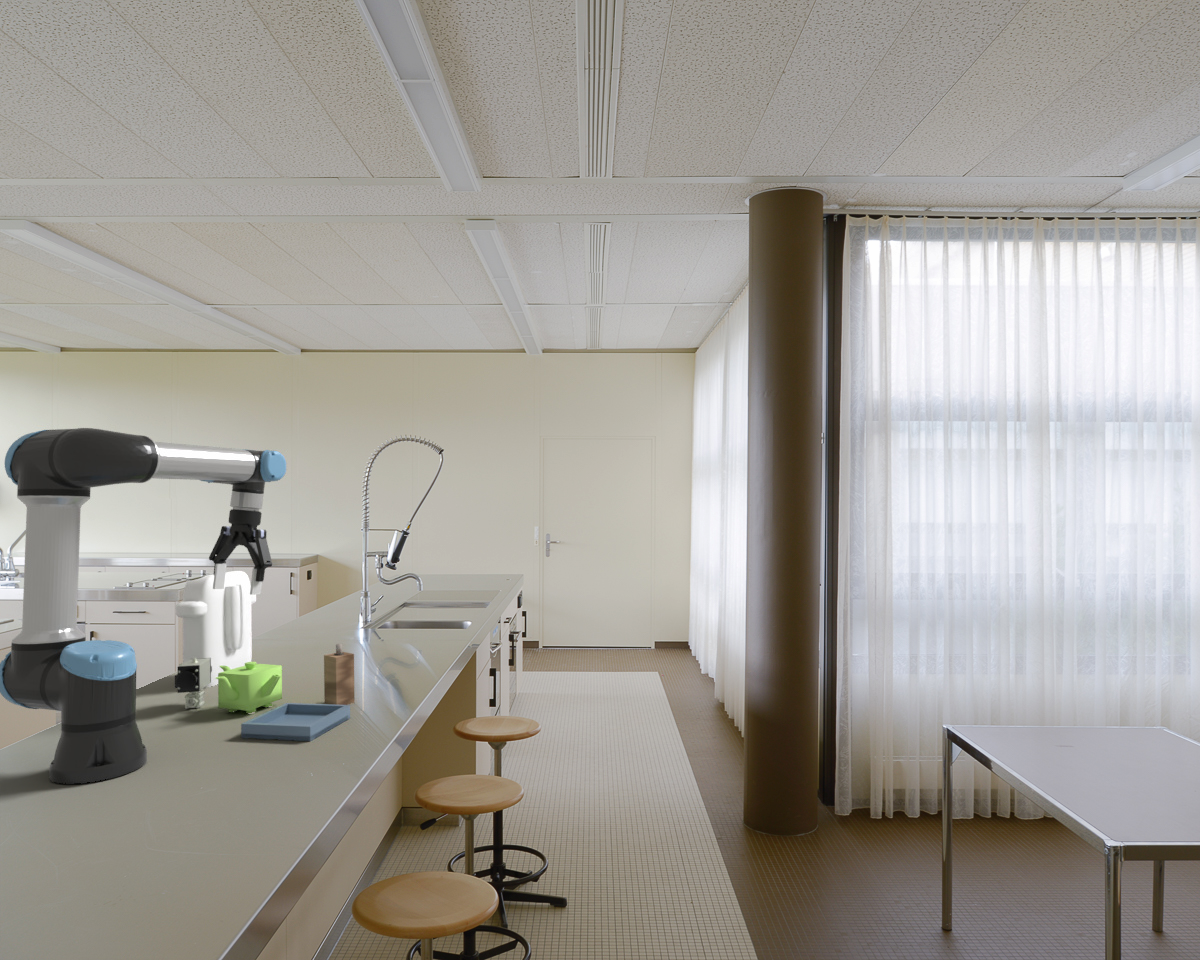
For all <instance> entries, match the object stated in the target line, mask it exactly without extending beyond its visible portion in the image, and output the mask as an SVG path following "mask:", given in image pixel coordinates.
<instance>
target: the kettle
mask: <svg viewBox="0 0 1200 960" xmlns="http://www.w3.org/2000/svg"><path fill="white" fill-rule="evenodd" d="M219 667H221V668H222V669H223V671H224V672H220V673H218V677H216V679H218V685H217V689H218V690H217V696H218V697H217V700H218V701H217V703H218V704H217V706H218V708H219V709H227V710H228V711H229V712H233V711H237V710H238V711H245V714H246V713H252V712H255V711H256V712H257V708H260V707H262V708H263V707H269V706H272V705H273V704H272V703H274V702H276V701H280V700H282V699H283V666H282V665H281V664H280V665H279V664H267V663H257V661H251V662H247V663H245V666H241V667H238V668H234V669H230V668H229V667H228V666H219ZM238 711H237V712H238ZM233 713H234V712H233Z"/></svg>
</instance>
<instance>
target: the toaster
mask: <svg viewBox="0 0 1200 960" xmlns="http://www.w3.org/2000/svg"><path fill="white" fill-rule="evenodd" d="M249 577H250V576H248V574H247V573H246V572H245V571H243V570H231V571H226V574H225V583H224V589H213V582H214V573H212V574H207V575H204V576H202V577H200V578H196V579H194V580H187V581H186V582H185V585H184V588H183V594H182V601H180V602H178V603H177V604H176V606H175V615H176V617H178V618H181V619H182V663H185V662H187V661H188V660H190V659H193V658H194V657H197V659H199V658H211V667H212V672H211V683H209V684H208V685H207V686H205V687H204V688H203V689H207V688H206V687H209V688H212V687H211V686H213V687H216V686H218V685H217V684H218V679H216V677H218V673H220V672H224V671H223V669H222V668H221V667H219V666H228V667H229V668H230V669H234V668H238V667H241V666H245V663H247V662H252V659H253V657H252V655H253V653H252V652H253V645H252V644H253V643H252V642H253V641H252V640H253V639H252V637H253V635H252V630H253V629H252V622H253V621H252V619H253V618H252V617H253V616H252V605H254V604H255V603H256V602H257V595H250V588H251V579H250V578H249ZM215 685H216V686H215Z"/></svg>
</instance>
